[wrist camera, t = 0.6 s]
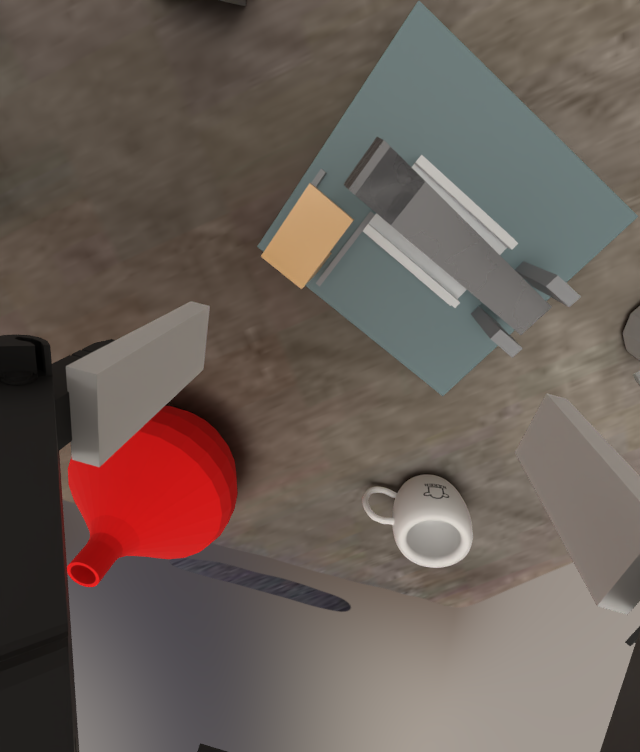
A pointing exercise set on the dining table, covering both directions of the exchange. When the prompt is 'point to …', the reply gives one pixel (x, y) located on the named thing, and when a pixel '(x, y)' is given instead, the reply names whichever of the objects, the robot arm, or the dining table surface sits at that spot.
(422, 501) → the mug
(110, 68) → the dining table surface
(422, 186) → the grey long bar
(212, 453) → the vase
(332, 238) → the orange block
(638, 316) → the water bottle
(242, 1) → the electrical switch
